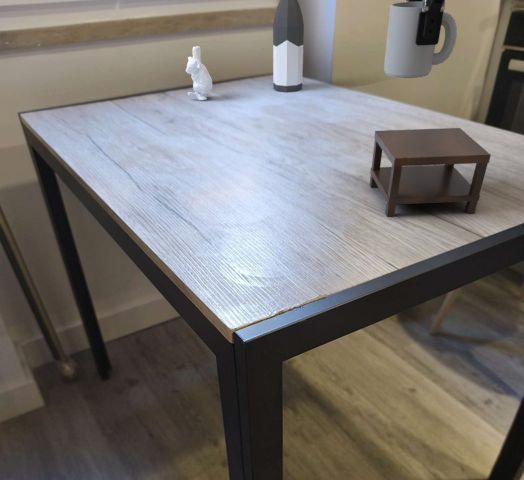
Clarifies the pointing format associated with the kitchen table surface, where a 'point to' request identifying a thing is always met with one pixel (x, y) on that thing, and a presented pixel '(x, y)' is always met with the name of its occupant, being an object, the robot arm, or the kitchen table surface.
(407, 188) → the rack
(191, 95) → the white upright figurine
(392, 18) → the cup
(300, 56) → the wine bottle
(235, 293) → the kitchen table surface
